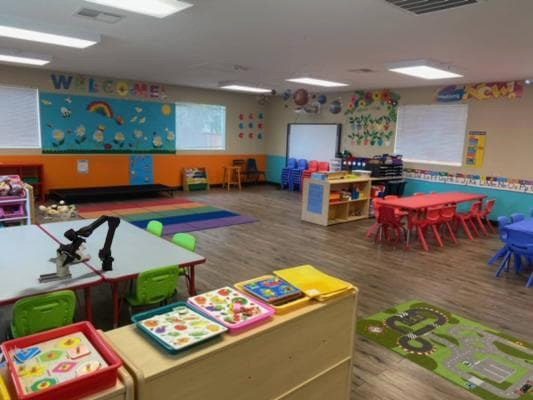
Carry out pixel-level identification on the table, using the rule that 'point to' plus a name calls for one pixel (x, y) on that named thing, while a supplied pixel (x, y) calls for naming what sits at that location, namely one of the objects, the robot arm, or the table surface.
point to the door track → (53, 277)
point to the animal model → (83, 257)
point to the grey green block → (60, 269)
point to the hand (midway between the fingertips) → (60, 265)
